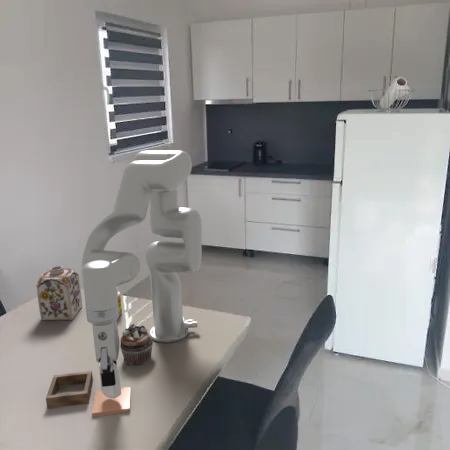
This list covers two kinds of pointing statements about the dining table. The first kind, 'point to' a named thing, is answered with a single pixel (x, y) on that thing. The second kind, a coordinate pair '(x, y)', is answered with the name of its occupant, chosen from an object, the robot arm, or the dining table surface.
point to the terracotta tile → (111, 403)
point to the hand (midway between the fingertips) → (109, 377)
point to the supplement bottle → (119, 301)
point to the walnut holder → (69, 398)
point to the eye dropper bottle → (112, 390)
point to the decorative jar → (59, 294)
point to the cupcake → (136, 345)
